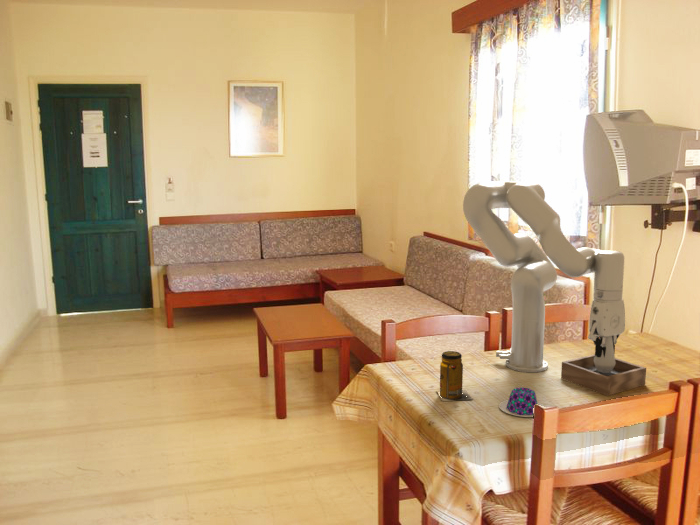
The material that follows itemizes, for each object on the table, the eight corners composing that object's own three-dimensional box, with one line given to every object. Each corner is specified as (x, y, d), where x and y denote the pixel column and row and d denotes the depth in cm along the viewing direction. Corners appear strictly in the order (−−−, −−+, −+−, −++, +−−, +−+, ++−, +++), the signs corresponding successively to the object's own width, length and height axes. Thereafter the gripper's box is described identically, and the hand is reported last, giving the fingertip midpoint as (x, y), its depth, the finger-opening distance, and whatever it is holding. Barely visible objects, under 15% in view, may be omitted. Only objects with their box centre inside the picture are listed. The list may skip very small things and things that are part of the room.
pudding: (494, 415, 169) (495, 395, 168) (503, 398, 180) (504, 380, 179) (543, 422, 164) (544, 402, 163) (549, 405, 175) (550, 386, 174)
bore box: (607, 395, 181) (608, 378, 180) (561, 378, 194) (561, 361, 193) (645, 384, 189) (646, 367, 188) (598, 369, 202) (599, 353, 201)
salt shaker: (616, 374, 187) (619, 329, 185) (595, 373, 188) (597, 328, 186) (612, 367, 193) (615, 323, 191) (591, 366, 194) (594, 323, 192)
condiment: (435, 391, 184) (436, 350, 182) (465, 390, 185) (466, 348, 183) (442, 401, 177) (442, 358, 175) (473, 400, 178) (474, 357, 176)
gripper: (599, 301, 180) (595, 366, 183) (638, 293, 188) (634, 356, 191) (576, 296, 186) (574, 359, 189) (615, 289, 194) (612, 350, 197)
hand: (604, 357), depth 190 cm, fingers closed on salt shaker, 3 cm apart
